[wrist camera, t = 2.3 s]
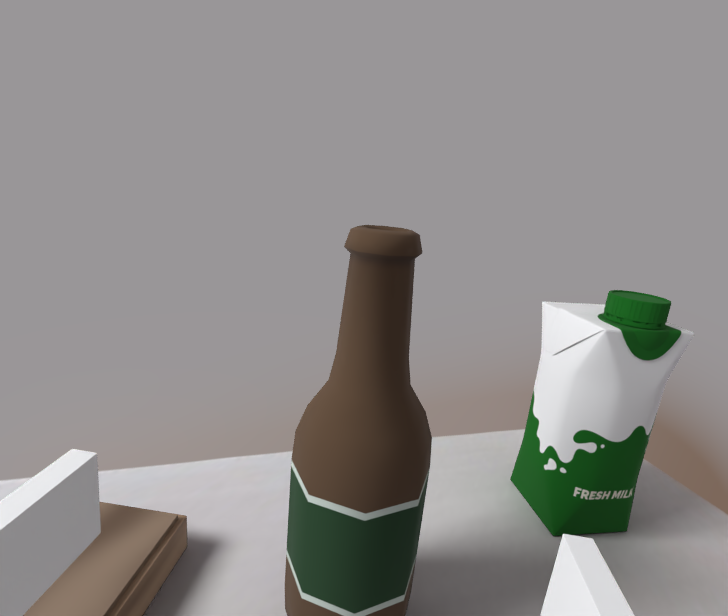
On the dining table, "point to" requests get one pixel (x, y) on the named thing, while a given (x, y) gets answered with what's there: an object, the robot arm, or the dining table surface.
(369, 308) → the beer bottle
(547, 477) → the milk carton
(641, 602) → the dining table surface
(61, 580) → the plinth
